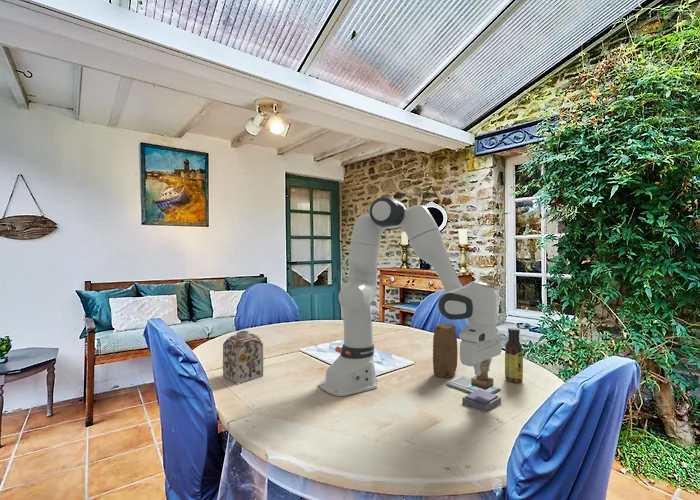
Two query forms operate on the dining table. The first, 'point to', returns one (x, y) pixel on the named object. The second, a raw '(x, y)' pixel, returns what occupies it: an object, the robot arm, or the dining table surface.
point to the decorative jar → (242, 357)
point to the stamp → (482, 378)
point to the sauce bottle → (513, 357)
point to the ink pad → (481, 400)
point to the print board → (469, 385)
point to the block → (444, 350)
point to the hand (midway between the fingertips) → (482, 373)
